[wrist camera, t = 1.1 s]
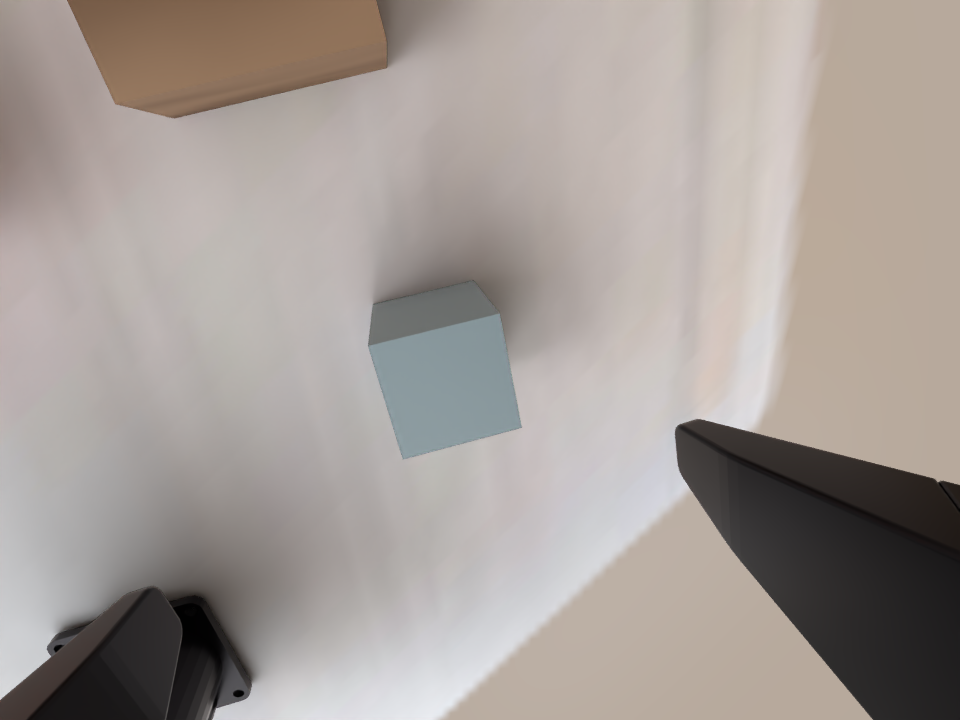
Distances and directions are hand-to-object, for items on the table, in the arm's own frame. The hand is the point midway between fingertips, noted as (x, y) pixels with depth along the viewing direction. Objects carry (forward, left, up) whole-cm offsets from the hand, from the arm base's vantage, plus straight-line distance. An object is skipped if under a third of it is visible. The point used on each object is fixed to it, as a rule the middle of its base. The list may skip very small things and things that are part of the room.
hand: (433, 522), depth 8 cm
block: (-1, -1, -12) cm, 12 cm away
